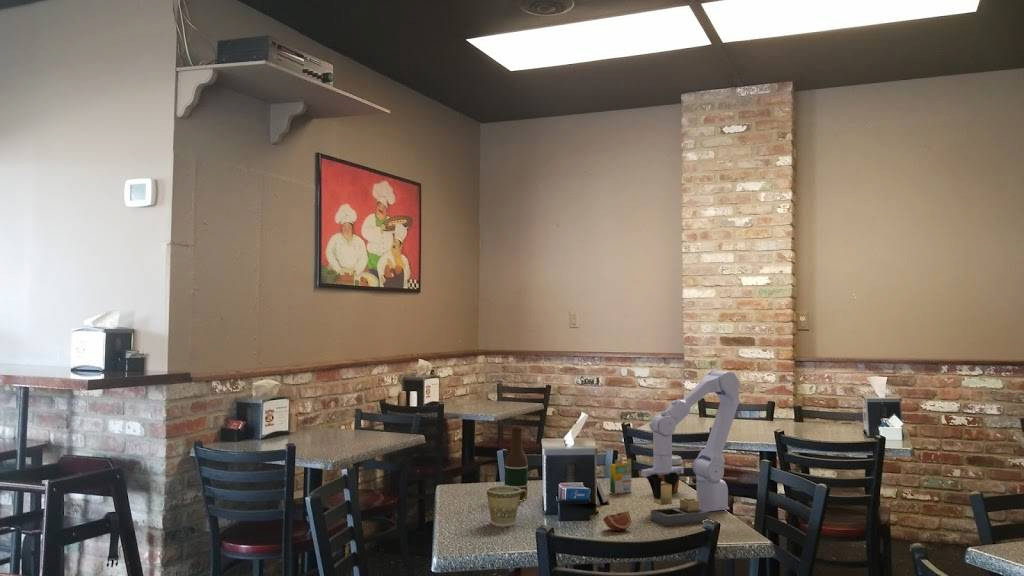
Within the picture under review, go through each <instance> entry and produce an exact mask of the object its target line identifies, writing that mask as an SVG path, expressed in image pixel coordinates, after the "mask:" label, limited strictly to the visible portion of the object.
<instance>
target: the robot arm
mask: <svg viewBox="0 0 1024 576" xmlns="http://www.w3.org/2000/svg"><path fill="white" fill-rule="evenodd" d="M740 384H741V382H740V380H739V378H738V376H737V375H736V374H735V373H734V372H732V371H725V370H724V371H723V370H717V369H713V370H711V371H709V372H708V373H707V374H706V375H704V376H703V377H702V379H701V381H700V382H699V383H698V384H697V385H695V387H694V388H693V389H692V390H691V391H690V392H688V394H687V395H685V397H684V398H682V399H680V398H679V399H676V400H672V401H671V404H670V406H669V407H667V408H665V410H662V411H661V412H660V414H659V415H656V416H654V417H653V418H652V419H651V421H650V423H649V428H650V430H651V432H652V437H653V440H652V443H653V445H652V446H653V447H652V449H653V450H652V451H653V452H652V453H653V455H652V456H653V457H652V459H653V462H652V465H653V467H650V468H645V469H641V477H643V478H646V479H647V481H648V484H649V485H650V488H651V492H652V494H653V495H652V496H653V499H654V498H655V499H659V498H660V484H661V480H662V479H661V478H659V476H658V475H664V479H665V482H666V483H668V484H671V485H672V495H673V494H674V493H673V490H674V487H675V485H676V482H677V481H678V479H679V480H680V477H679V475H677V473H680V474H684V472H685V470H684V469H685V468H684V466H682V465H681V466H676V467H672V455H673V447H672V446H673V438H672V435H673V434H674V432H675V431H676V427H677V425H679V423H681V421H683V420H684V419H685V418H686V417H688V416H689V414H690V413H691V408H692V407H693V406H694V405H696V404H697V403H698V402H700V401H701V400H702V399H703V398H704V397H705V396H707V395H709V394H710V393H715V394H716V397H718V399H719V401H720V402H719V405H718V409H717V412H716V415H715V418H714V421H713V424H712V426H711V429H710V433H709V436H708V439H707V442H706V445H705V447H704V448H703V449H701V451H700V452H699V453H698V455H697V458H695V459H694V461H693V463H692V472H693V473H694V474H695V475H696V476H695V477H696V499H695V500H698V501H699V509H702V510H705V511H708V512H716V511H724V510H730V507H729V506H728V505H729V503H728V502H729V501H728V500H729V489H728V487H729V486H728V485H727V483H726V481H725V480H723V479H722V478H723V477H724V474H725V462H726V460H725V457H724V455H723V452H724V449H725V446H726V443H727V440H728V436H729V434H730V431H731V428H732V425H733V422H734V419H735V415H736V413H737V409H738V407H739V403H740V395H739V393H740V392H739V387H740V386H741V385H740Z"/></svg>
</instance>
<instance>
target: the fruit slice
mask: <svg viewBox="0 0 1024 576" xmlns="http://www.w3.org/2000/svg"><path fill="white" fill-rule="evenodd" d="M603 522H604V524H605V525H606V526H607V527H608V528H609V529H610V530H613V531H615V532H624V531H626V530H627V529H629V528H630V526H631V525H632V524H631V523H632V517H631V515H630V512H629V510H628V511H623V512H619V513H617V512H616V514H608V515H606V516H604V518H603Z"/></svg>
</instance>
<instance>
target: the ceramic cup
mask: <svg viewBox="0 0 1024 576" xmlns="http://www.w3.org/2000/svg"><path fill="white" fill-rule="evenodd" d="M523 491H524V492H525V496H524V498H523V499H522V500H521V501H519V499H520V494H521V492H523ZM486 496H487V503H488V508H489V516H490V520H491V524H492V525H493V526H494V525H495V527H498V526H502V528H507V527H506V526H509V527H512V525H513V526H514V525H515V524H516V518H517V511H518V508H519V506H520V505H521V504H522V502H523V501H525V500H524V499H525V498H526V496H527V497H528V491H527V492H526V490H524V489H520V488H517V487H512V486H505V485H496V486H490V487H488V488H486ZM526 499H527V498H526Z"/></svg>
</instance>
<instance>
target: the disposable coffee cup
mask: <svg viewBox="0 0 1024 576" xmlns="http://www.w3.org/2000/svg"><path fill="white" fill-rule="evenodd" d="M682 464H683V459H682V456H679V455H675V454H672V467H676V466H681V467H682ZM680 474H681V473H677V475H679V479H678V481H677V482H676V485H675V487H674V490H673V494H675V493H678V491H679V482H680ZM658 476H659V478H661V479H662V480H661V482H665V479H664V475H658Z"/></svg>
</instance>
